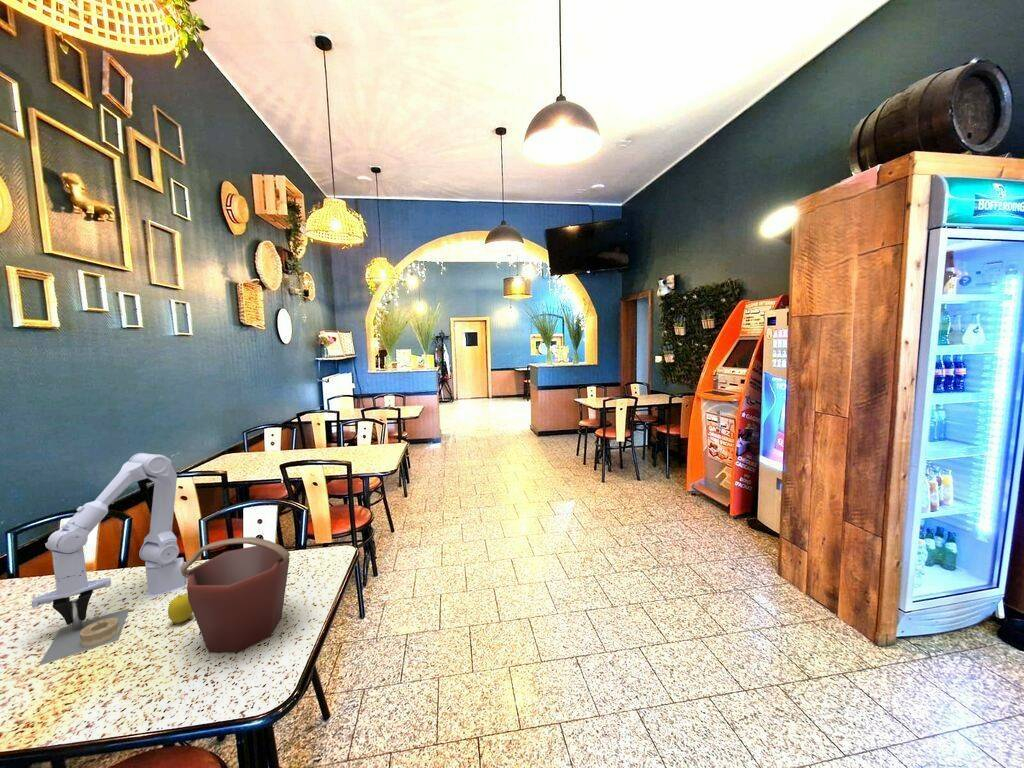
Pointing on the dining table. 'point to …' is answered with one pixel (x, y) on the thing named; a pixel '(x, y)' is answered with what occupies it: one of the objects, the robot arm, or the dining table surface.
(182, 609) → the lemon
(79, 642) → the mat
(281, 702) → the dining table surface
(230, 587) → the bucket
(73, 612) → the steel peg
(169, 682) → the dining table surface
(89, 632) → the maple bead
